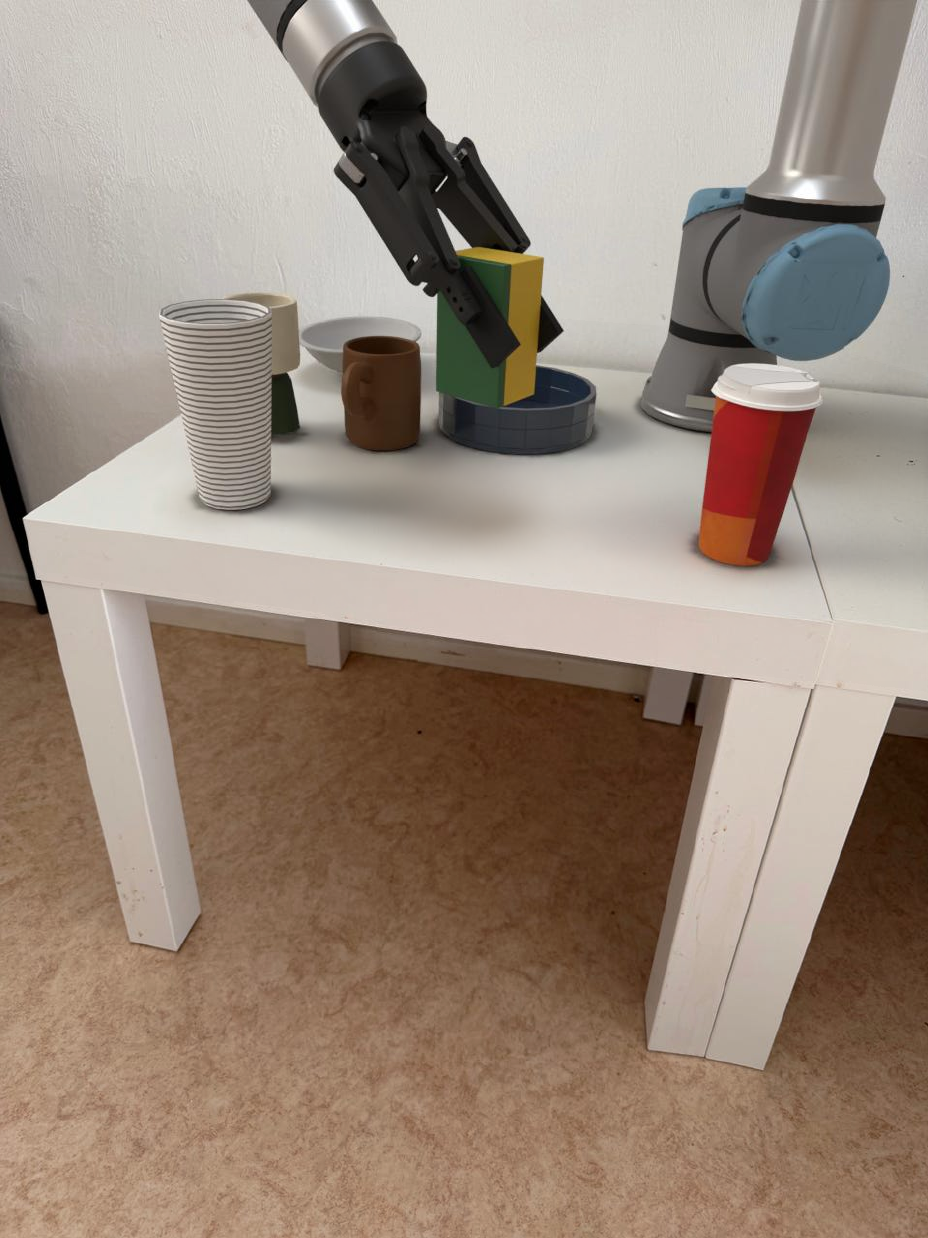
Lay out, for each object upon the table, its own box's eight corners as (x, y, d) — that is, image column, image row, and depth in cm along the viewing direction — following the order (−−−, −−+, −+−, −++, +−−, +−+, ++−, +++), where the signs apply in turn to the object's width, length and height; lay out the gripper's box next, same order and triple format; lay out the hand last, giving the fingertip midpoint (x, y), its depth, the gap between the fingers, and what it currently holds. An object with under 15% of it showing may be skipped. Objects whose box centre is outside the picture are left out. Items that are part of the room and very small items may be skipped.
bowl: (535, 395, 104) (538, 356, 102) (622, 439, 92) (628, 397, 90) (412, 414, 97) (412, 373, 94) (490, 464, 85) (492, 419, 83)
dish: (389, 402, 100) (388, 357, 97) (273, 387, 103) (270, 343, 101) (439, 362, 114) (439, 322, 112) (336, 350, 118) (334, 311, 115)
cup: (271, 472, 81) (257, 295, 73) (297, 508, 75) (285, 319, 67) (176, 485, 78) (150, 301, 70) (195, 523, 72) (168, 327, 64)
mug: (386, 473, 82) (385, 371, 77) (312, 461, 84) (306, 361, 79) (431, 432, 92) (432, 339, 87) (363, 422, 94) (361, 331, 89)
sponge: (473, 378, 72) (478, 246, 67) (534, 394, 69) (544, 257, 64) (435, 391, 69) (437, 253, 63) (497, 408, 66) (505, 265, 60)
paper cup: (764, 529, 75) (803, 362, 67) (797, 573, 68) (844, 393, 61) (673, 528, 74) (702, 359, 67) (696, 571, 68) (731, 390, 60)
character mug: (259, 412, 95) (248, 285, 89) (321, 419, 94) (315, 291, 87) (211, 446, 86) (195, 308, 80) (280, 455, 85) (269, 315, 78)
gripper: (411, 116, 73) (561, 355, 73) (241, 119, 61) (420, 405, 61) (464, 40, 68) (625, 299, 68) (287, 26, 56) (484, 341, 56)
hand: (528, 348), depth 65 cm, fingers closed on sponge, 5 cm apart
